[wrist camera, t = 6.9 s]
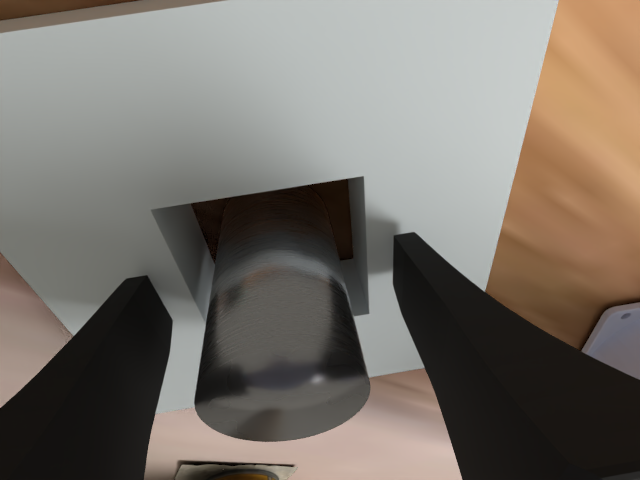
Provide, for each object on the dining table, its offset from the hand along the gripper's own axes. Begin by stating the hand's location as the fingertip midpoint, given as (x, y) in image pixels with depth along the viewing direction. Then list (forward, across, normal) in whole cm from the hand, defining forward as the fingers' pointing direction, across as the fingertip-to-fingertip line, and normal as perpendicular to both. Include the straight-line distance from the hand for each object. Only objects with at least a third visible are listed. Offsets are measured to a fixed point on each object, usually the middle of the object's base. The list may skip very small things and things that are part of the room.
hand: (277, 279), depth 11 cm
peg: (+3, 0, 0) cm, 3 cm away
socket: (+3, 0, 0) cm, 3 cm away
